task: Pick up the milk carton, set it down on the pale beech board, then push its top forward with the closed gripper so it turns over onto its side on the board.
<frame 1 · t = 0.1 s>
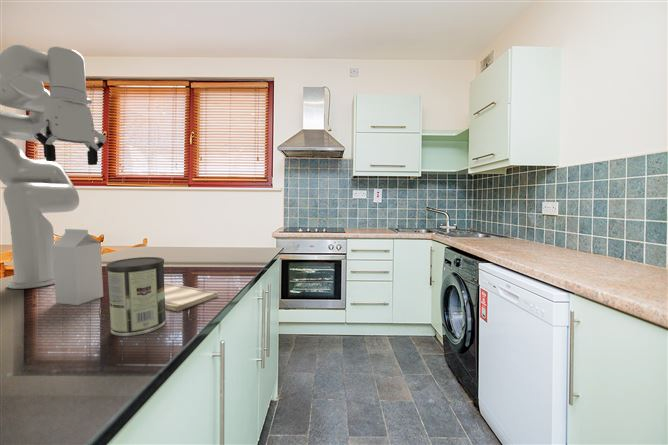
hand: (72, 163, 86), 37 cm above the countertop, tool pointing down, fingers open, 9 cm apart
beech board: (167, 296, 87), on the countertop
milk carton: (80, 301, 84), on the countertop
coffee can: (139, 326, 68), on the countertop
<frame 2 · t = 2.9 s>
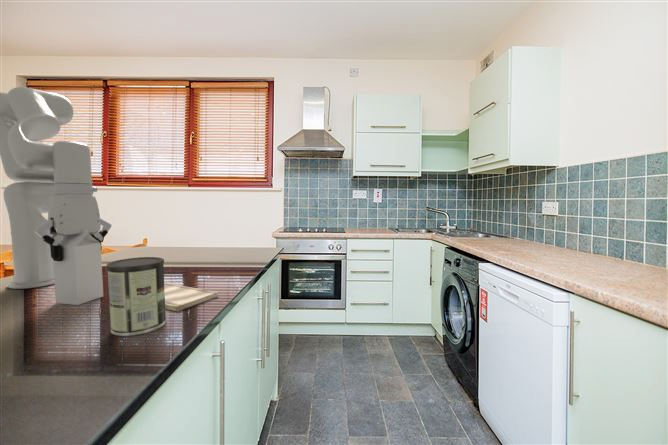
hand: (77, 257, 83), 12 cm above the countertop, tool pointing down, fingers closed on milk carton, 8 cm apart
milk carton: (80, 301, 84), on the countertop, touching gripper
everything else where it was.
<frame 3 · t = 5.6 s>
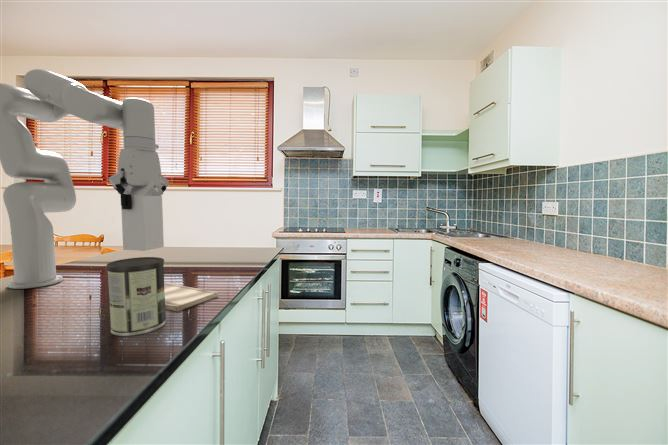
hand: (142, 208, 89), 24 cm above the countertop, tool pointing down, fingers closed on milk carton, 8 cm apart
milk carton: (144, 249, 90), point 13 cm above the countertop, touching gripper
everything else where it was.
when the fingers open (13 cm above the countertop, at t = 8.5 s): milk carton stays where it is, resting on beech board.
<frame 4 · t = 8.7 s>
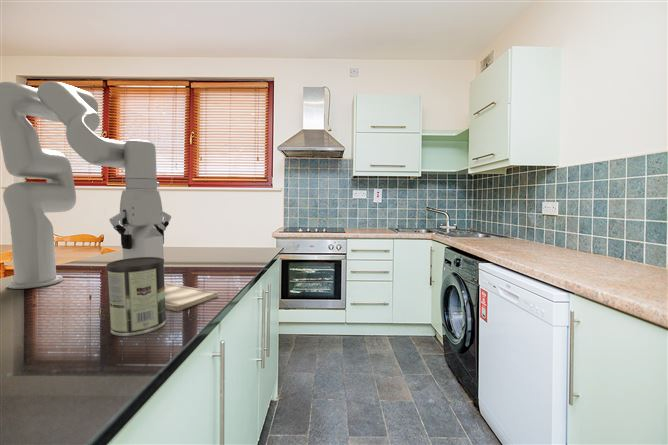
hand: (144, 246, 90), 13 cm above the countertop, tool pointing down, fingers open, 9 cm apart
milk carton: (145, 289, 91), point 1 cm above the countertop, touching beech board
everything else where it was.
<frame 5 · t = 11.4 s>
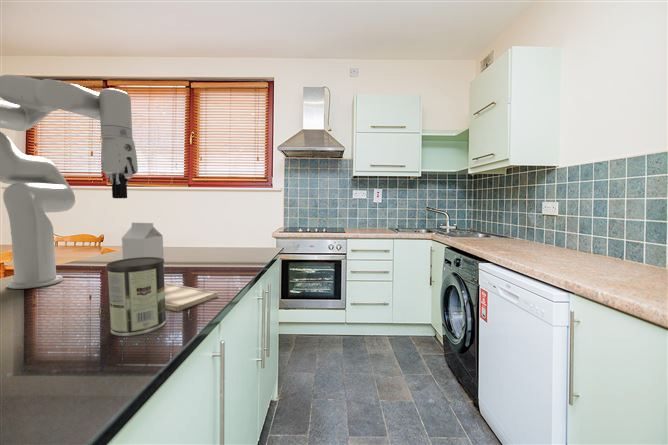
hand: (120, 198, 93), 27 cm above the countertop, tool pointing down, fingers closed
nothing on the countertop moved.
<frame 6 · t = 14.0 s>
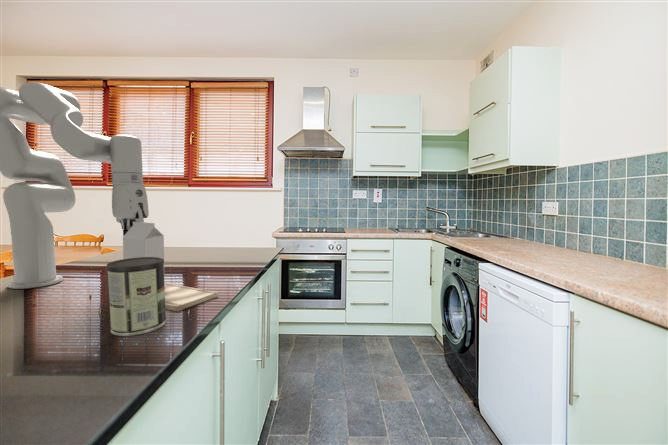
hand: (130, 242, 92), 14 cm above the countertop, tool pointing down, fingers closed
milk carton: (145, 288, 91), point 1 cm above the countertop, touching beech board, gripper
everything else where it was.
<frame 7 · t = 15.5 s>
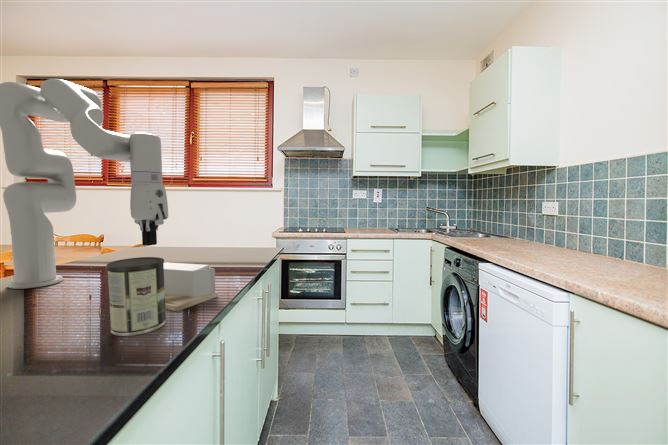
hand: (149, 244, 89), 14 cm above the countertop, tool pointing down, fingers closed
milk carton: (154, 276, 90), point 5 cm above the countertop, touching beech board
everything else where it was.
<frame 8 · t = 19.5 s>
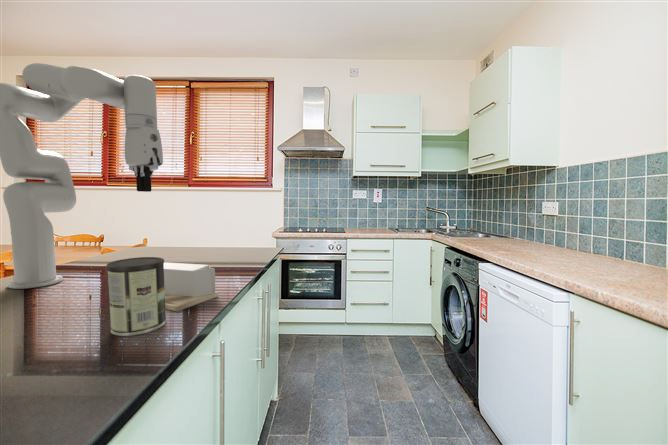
hand: (144, 191, 88), 29 cm above the countertop, tool pointing down, fingers closed
nothing on the countertop moved.
at the end: milk carton tilted 90°; milk carton inside the target area (8.8 cm from its centre), point 4.8 cm above the countertop; the gripper is holding nothing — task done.
